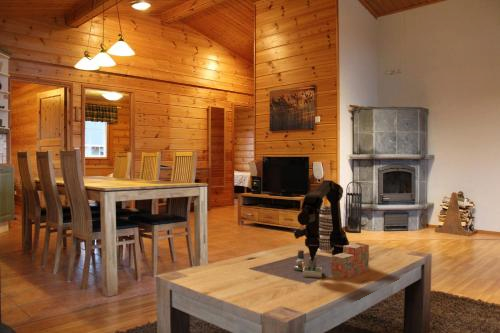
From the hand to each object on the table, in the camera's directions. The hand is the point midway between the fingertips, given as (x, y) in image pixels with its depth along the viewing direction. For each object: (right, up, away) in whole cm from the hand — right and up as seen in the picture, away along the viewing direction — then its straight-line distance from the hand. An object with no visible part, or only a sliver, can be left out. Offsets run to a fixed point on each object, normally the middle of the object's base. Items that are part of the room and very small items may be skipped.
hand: (312, 257), depth 192 cm
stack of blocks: (+18, -8, +4) cm, 20 cm away
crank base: (-5, -8, +9) cm, 13 cm away
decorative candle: (+15, -7, +52) cm, 54 cm away
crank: (-4, -6, +13) cm, 15 cm away
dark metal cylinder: (0, -7, 0) cm, 7 cm away
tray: (0, -8, 0) cm, 8 cm away
